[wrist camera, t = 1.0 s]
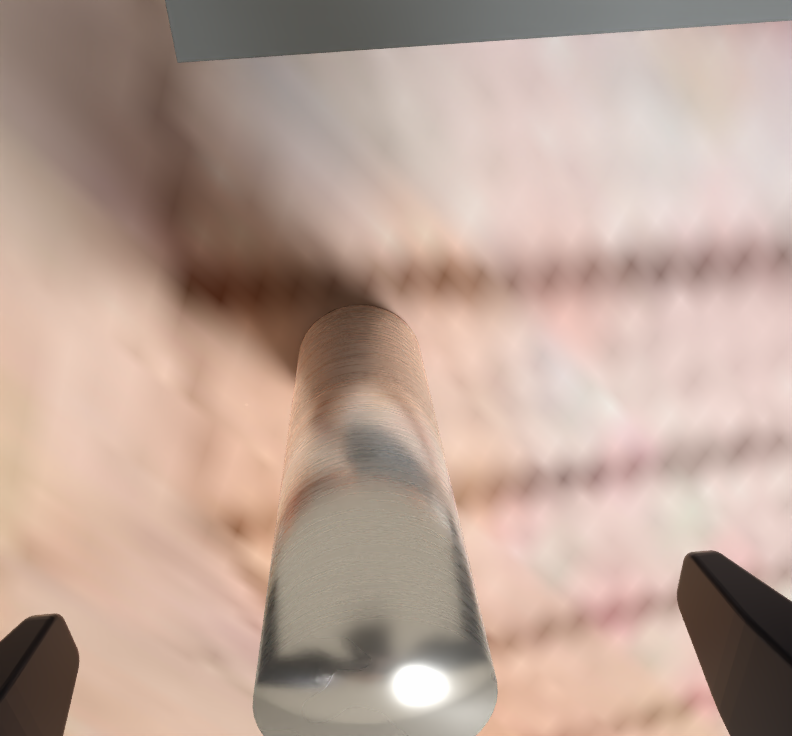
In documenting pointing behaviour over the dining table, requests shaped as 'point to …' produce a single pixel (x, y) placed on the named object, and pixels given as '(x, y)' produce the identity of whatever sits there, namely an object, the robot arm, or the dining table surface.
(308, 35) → the hole block
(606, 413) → the dining table surface
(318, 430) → the steel peg
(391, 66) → the dining table surface
